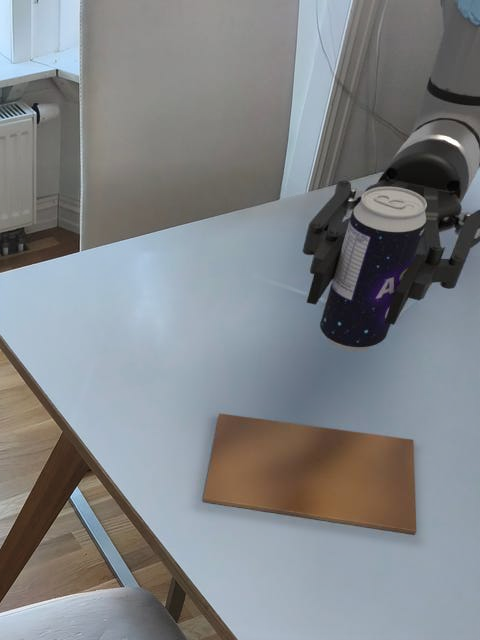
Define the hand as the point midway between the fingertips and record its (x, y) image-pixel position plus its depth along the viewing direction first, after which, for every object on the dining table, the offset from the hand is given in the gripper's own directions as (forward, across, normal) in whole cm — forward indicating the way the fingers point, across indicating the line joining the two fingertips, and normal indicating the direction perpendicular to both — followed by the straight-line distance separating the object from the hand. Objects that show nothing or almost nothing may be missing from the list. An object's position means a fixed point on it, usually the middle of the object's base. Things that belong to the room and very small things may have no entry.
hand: (354, 297), depth 70 cm
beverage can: (-5, 0, -7) cm, 8 cm away
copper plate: (-5, 0, -22) cm, 22 cm away
